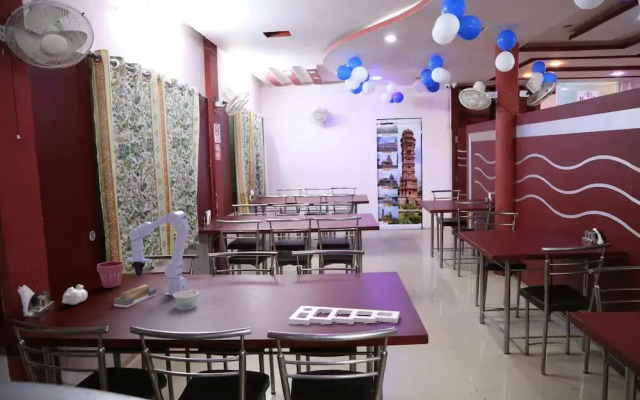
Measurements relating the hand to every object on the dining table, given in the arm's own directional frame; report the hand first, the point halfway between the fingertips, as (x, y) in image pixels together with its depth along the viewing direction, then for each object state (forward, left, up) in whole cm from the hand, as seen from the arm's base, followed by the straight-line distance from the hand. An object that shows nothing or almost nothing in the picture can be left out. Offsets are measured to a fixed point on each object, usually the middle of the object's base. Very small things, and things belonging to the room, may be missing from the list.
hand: (139, 275), depth 253 cm
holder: (-119, +9, -10) cm, 120 cm away
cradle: (-8, +12, -9) cm, 17 cm away
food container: (-40, +13, -10) cm, 43 cm away
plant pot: (+27, -7, -10) cm, 30 cm away
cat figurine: (+19, +25, -10) cm, 33 cm away
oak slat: (-8, +12, -8) cm, 17 cm away
